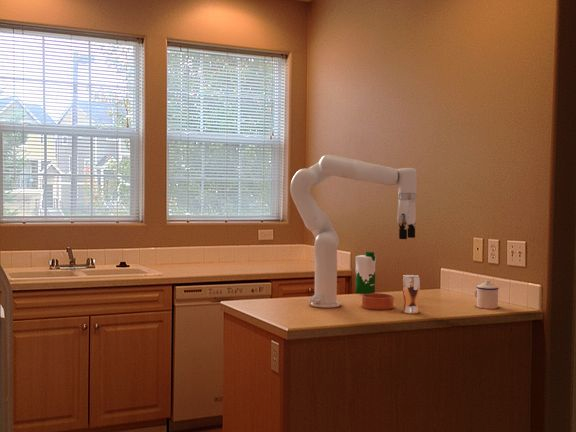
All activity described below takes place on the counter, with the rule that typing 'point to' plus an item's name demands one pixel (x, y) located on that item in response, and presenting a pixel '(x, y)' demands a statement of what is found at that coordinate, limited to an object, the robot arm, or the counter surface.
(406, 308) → the beer glass
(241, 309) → the counter surface
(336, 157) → the robot arm
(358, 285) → the milk carton
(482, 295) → the teacup with lid
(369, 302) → the bowl
